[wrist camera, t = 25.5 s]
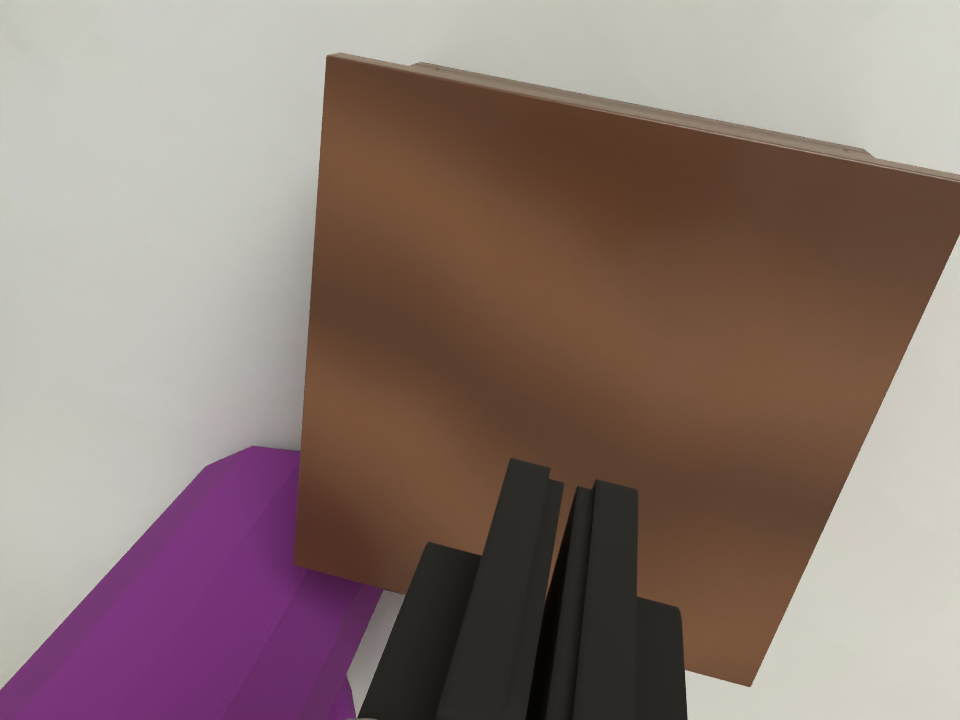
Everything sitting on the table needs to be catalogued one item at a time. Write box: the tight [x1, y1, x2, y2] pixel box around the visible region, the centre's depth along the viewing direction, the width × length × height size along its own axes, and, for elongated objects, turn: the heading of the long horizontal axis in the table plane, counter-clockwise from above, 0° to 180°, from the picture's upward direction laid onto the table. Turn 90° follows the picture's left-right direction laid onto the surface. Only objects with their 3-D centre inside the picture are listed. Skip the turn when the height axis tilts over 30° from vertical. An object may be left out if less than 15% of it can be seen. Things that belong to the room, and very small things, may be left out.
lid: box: [293, 53, 960, 687], centre depth 20 cm, size 14×14×1 cm
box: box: [410, 62, 874, 158], centre depth 23 cm, size 14×14×7 cm
